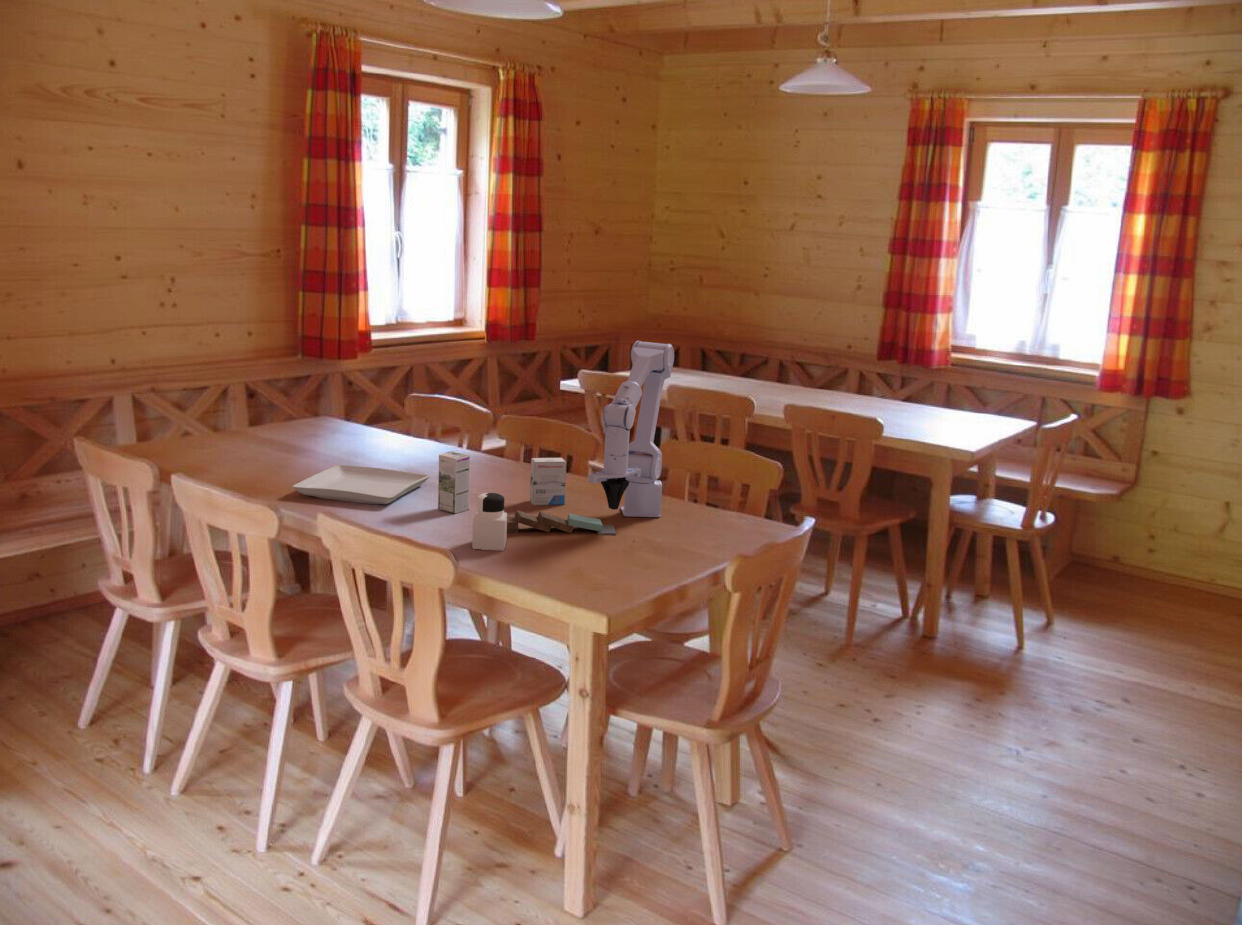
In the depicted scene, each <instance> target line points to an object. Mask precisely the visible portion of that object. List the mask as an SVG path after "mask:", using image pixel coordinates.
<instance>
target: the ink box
mask: <svg viewBox="0 0 1242 925" xmlns="http://www.w3.org/2000/svg"><path fill="white" fill-rule="evenodd" d="M530 464H531V465H530V480H529V481H530V484H529V502H530V504H531V505H532V506H551V505H552V506H559V505H561V506H563V505H565V504H566V503H565V502H566V500H565V498H566V478H567V461H566V460H565V459H564V458H563V457H531V462H530Z"/></svg>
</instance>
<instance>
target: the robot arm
mask: <svg viewBox="0 0 1242 925" xmlns="http://www.w3.org/2000/svg"><path fill="white" fill-rule="evenodd" d="M630 360H631V364H632V366H631V370H630V372H629V375H628V378H627V380H626V381H623V382H622V383H620V386H619V387H618V390H617V392H616V394H615V395H614V397H613V399H612V400H611V403H608V404H606V405H604V409H603V411H602V417H601V420H602V421H601V422H602V426H603V435H605V438H604V439H605V440H604V456H603V458H604V459H603V468H602V469H601V470H599V471H596V472H593V473H589V474H588V483H591V484H597V483H599V482H600V484H601V486H602V488H603V490H604V492H605V497H606V501H607V505H608V509H611V510H612V511H614V510H618V509H619V507H620V509H621V512H622V514H623V517H633V518H635V517H638V518H639V517H641V518H661V516H662V515H661V514H662V512H661V511H662V498H663V497H662V496H663V484H662V481H661V480H658V479H659V478H660V476H661V474H662V467H663V463H662V460H663V453H662V451H661V450H660V448H659V447H658V446H656V444H655V442H654V441H655V435H656V430H657V424H658V423H657V422H658V418H659V417H658V416H659V411H660V405H661V398H662V393H663V388H664V385H665V381H666V379H669V378H671V376H672V372H673V367H674V361H675V349H674V347H673V345H672V343H659V342H649V341H641V340H636V341H635V342H634V343H633V345H632V347H631V351H630ZM642 386H643V390H642ZM640 400H641V401H640ZM639 402H640V407H639V411H638V412H639V413H638V419H637V425H636V429H635V430H636V431H635V435H634V440H633V441H631V442H630V433H631V432H630V431H631V429H632V427H633V426H634V423H635V417H636V413H637V410H636V408H637V406H638V404H639ZM623 495H624V501H623V502H624V504H623V506H620V504H621V500H622V499H623V498H622V497H623Z"/></svg>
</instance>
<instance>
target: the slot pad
mask: <svg viewBox="0 0 1242 925" xmlns="http://www.w3.org/2000/svg"><path fill="white" fill-rule="evenodd" d="M602 525H603V526H602V530H601V531H596V533H597V535H605V536H607V535H608V536H609V535H611V536H612V535H613V536H616V535H617V531H616V529H615V526H614V524H602Z"/></svg>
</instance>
